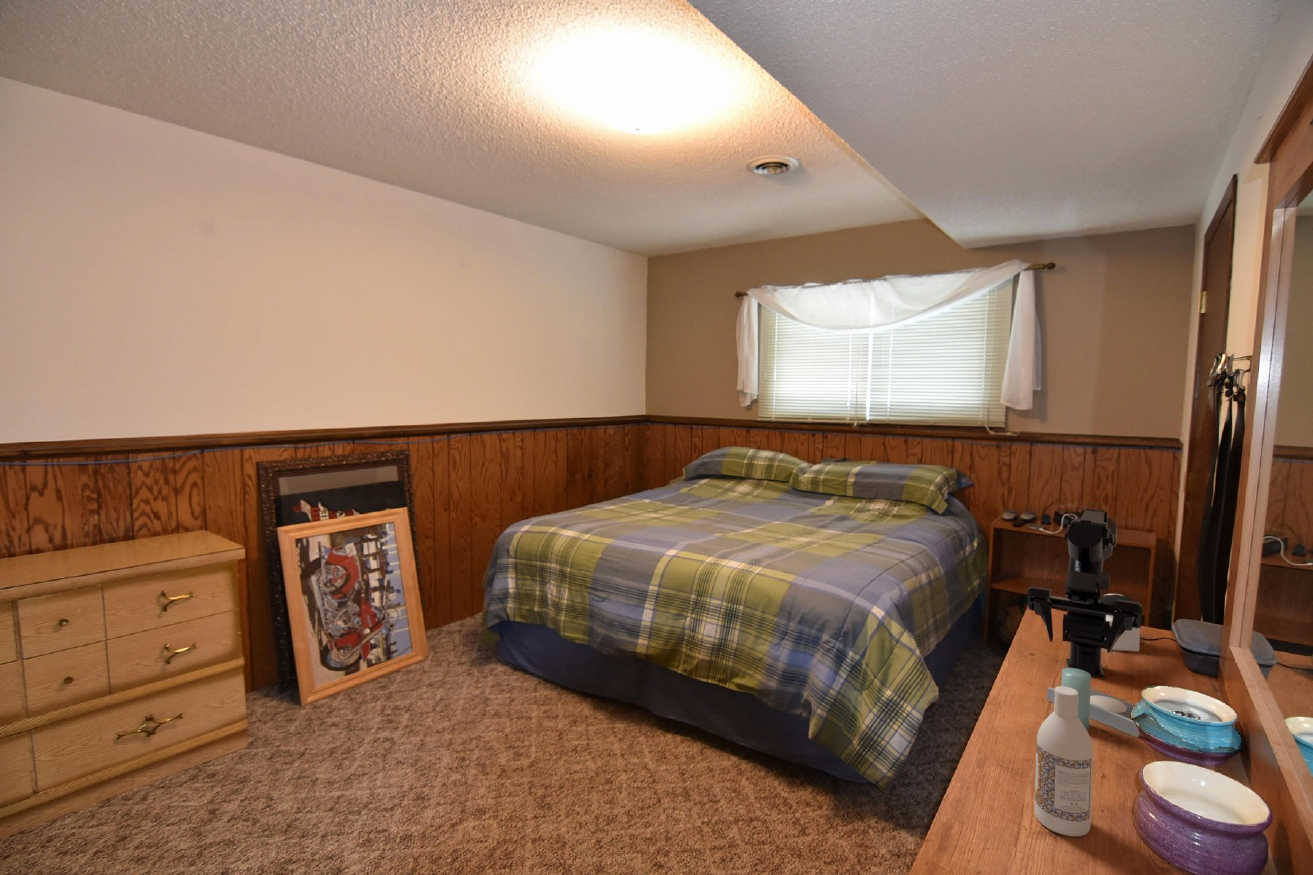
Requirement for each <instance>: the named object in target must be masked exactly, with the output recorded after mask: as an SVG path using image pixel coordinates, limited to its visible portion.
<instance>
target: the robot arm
mask: <svg viewBox="0 0 1313 875" xmlns="http://www.w3.org/2000/svg"><path fill="white" fill-rule="evenodd" d="M1108 513H1109V512H1108V511H1106V510H1105V509H1097V508H1096V509H1095V508H1083V509H1081V515H1080V516H1079V517H1078V518H1076V519H1072V520H1071V522H1070V524H1067V526H1066V528H1065V531H1064V532H1065V533H1064V541H1065V542H1067V546H1068V547H1067V549H1068V555H1069V562H1068V571H1067V577H1066V578H1067V579H1066V580H1065V585H1064V586H1065V588H1064V595H1065V597H1061V596H1055V595H1052V592H1051V588H1045V587H1037V586H1034V585H1033V586H1030V587H1029V588H1027V589H1026V591H1027V592H1026V601H1027V603H1026V604H1027V608H1028V610H1030V611H1033V612H1034V614H1035V615H1037V616H1040V617H1041V619H1042V621H1043V623H1044V626H1045V629H1046V633H1047V637H1048V640H1049V642H1050V643H1053V641H1054V640H1053V639H1054V631H1053V614H1052V607H1055V608H1064V609H1067V610H1066V613H1063V617H1062V642H1069V644H1070V646H1069V658H1066V661H1065V662H1066V665H1067V668H1076V669H1081V670H1084V671H1086V672H1088V673H1089V674H1090V675H1091V677H1093V676H1094V677H1098V678H1099V677H1100V678H1105V676H1106V675H1105V671H1104V669H1103V667H1102V649H1105V650H1106V649H1107V650H1106V653H1107V654H1110V653H1111V652H1112V651H1113V650H1112V648H1113V647H1114V645H1115V643H1116V642H1117V640H1118V638H1119V637H1120V636H1121V635H1122V634H1123V633H1124V632H1125V631H1126V630H1128V631H1131V630H1132V628H1142V616H1143V611H1142V610H1143V606H1142V605H1141V603H1140V602H1138V601H1133V600H1132V601H1127V600H1120V599H1117V602H1116V606H1114V605H1107V604H1104V603H1103V602H1102V601H1101V600H1102V591H1110V584H1111V583H1110V582H1111V572H1108V571H1103V568H1104V562H1105V561H1106V560H1108V559H1109V558H1110V557H1112V555H1113V548H1116V547H1117V537H1118V530H1117V528H1118V527H1117V526H1118V525H1117V523H1116V522H1114V521H1113V520H1112V519H1111V518H1110V517H1109V514H1108ZM1106 615H1111V616H1113V621H1112V625H1110V621H1106ZM1105 638H1106V639H1105Z"/></svg>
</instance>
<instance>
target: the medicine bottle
mask: <svg viewBox="0 0 1313 875" xmlns="http://www.w3.org/2000/svg"><path fill="white" fill-rule="evenodd" d="M1117 599H1120V600H1127V601H1133V599H1132V598H1130V597H1128V596H1126V595H1124V594H1119V593H1107V594H1106V593H1105V594H1103V595H1101V602H1103V603H1104V604H1107V605H1114V606H1116V602H1117ZM1106 621H1110V625H1112V621H1113V616H1111V615H1106ZM1141 628H1142V627H1141ZM1141 628H1132V630H1131V631H1128V630H1126V631H1125V632H1124V633H1123V634H1122V635H1121V636H1120V637H1119V638H1118V640H1117V642H1116V643H1115V645H1114V647H1113V648H1112V650H1111V651H1119V652H1120V651H1121V652H1137V653H1138V652H1140V647H1141V630H1142V629H1141ZM1105 639H1106V638H1105ZM1105 650H1106V651H1107V649H1105Z"/></svg>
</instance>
